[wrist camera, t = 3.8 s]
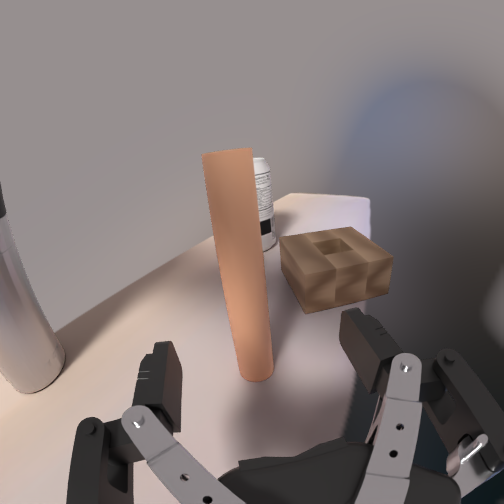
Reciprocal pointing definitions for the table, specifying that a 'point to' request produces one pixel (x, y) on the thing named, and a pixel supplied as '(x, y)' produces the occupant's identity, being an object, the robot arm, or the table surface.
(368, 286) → the socket block
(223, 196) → the peg
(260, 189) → the supplement can
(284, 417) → the table surface
